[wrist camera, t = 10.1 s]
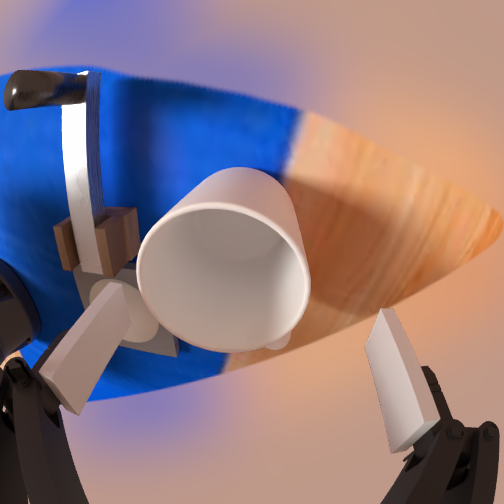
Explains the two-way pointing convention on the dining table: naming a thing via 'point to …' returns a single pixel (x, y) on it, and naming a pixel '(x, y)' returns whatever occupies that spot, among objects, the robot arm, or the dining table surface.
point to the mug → (227, 265)
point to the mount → (104, 240)
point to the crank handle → (71, 145)
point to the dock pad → (130, 311)
